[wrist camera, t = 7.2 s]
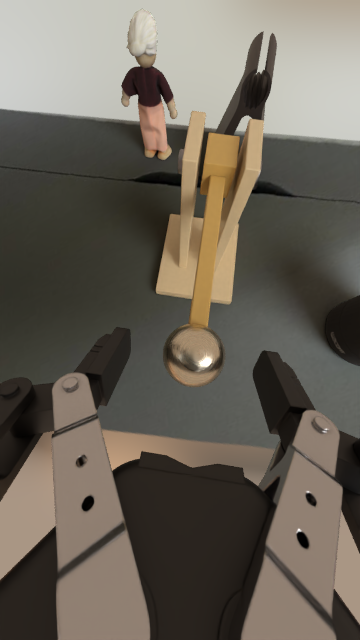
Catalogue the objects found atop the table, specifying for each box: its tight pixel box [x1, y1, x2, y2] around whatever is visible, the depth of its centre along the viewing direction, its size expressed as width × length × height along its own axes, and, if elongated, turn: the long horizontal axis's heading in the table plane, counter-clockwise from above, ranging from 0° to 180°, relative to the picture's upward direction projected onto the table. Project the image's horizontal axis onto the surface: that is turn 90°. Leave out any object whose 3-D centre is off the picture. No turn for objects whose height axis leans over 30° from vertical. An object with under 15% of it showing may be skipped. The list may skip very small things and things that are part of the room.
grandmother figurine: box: [121, 9, 177, 160], centre depth 25 cm, size 8×4×13 cm, turn 87°
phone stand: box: [201, 32, 277, 190], centre depth 24 cm, size 9×6×12 cm, turn 78°
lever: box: [163, 133, 240, 387], centre depth 12 cm, size 17×4×4 cm, turn 171°
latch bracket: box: [156, 111, 264, 304], centre depth 19 cm, size 12×10×15 cm
